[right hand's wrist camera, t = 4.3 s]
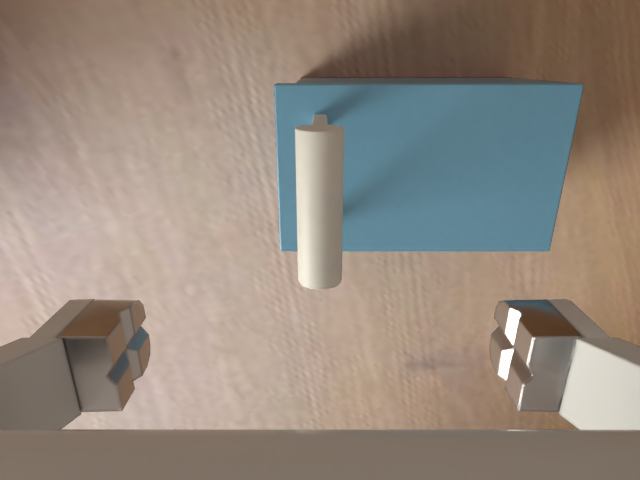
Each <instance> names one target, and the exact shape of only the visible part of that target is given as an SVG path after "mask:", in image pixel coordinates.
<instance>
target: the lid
mask: <svg viewBox="0 0 640 480" xmlns="http://www.w3.org/2000/svg"><path fill="white" fill-rule="evenodd" d="M583 87H584V85H583V84H578V83H277V84H275V85H274V92H275V119H276V146H277V173H278V200H279V227H280V250H281V251H298V281H299V283H300V284H301V285H302V286H304V287H306V288H310V289H316V290H324V289H330V288H333V287H336V286H337V285H339V284H340V282H341V280H342V251H549V250H550V245H551V241H552V236H553V231H554V226H555V221H556V217H557V212H558V207H559V202H560V197H561V193H562V188H563V183H564V178H565V173H566V169H567V164H568V159H569V154H570V149H571V145H572V140H573V135H574V130H575V125H576V121H577V116H578V111H579V106H580V101H581V97H582V92H583Z"/></svg>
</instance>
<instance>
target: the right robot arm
mask: <svg viewBox="0 0 640 480" xmlns="http://www.w3.org/2000/svg"><path fill="white" fill-rule="evenodd" d="M145 318H146V316H145V311H144V306H143V304H142V303H141V302H140V301H139V300H95V299H81V300H69V301H68V302H67V303H66V304H65V305H64V306H63V307H62V308H61V309H60V310H59V311H58V312H57V313H55V314H54V315H53V316H52V317H51V318H50V319H49V320H48V321H47V322H46V323H45V324H44V325H43V326H42V327H40V328H39V329H38V330H37V331H36V332H35V333H34V334H33V335H32V336H31V337H30V338H21V339H18V340H16V341H13V342H11V343H8V344H6V345H4V346H1V347H0V480H640V347H639V346H636V345H634V344H632V343H629V342H627V341H624V340H622V339H619V338H610V337H609V336H608V335H607V334H606V333H605V332H604V331H603V330H602V329H601V328H600V327H599V326H597V325H596V324H595V323H594V322H593V321H592V320H591V319H590V318H589V317H588V316H587V315H586V314H585V313H584V312H583V311H581V310H580V309H579V308H578V307H577V306H576V305H575V304H574V303H573V302H572V301H570V300H567V299H555V300H509V301H499V302H498V304H497V307H496V310H495V315H494V318H495V320H496V321H497V323H498V325H499V327H498V328H497V329H496V330H495V331H494V332H493V333H492V334H491V340H490V358H491V362H492V365H493V368H494V370H495V372H496V374H497V375H498V376H499V377H501V378H503V379H504V380H506V381H507V382H506V388H505V389H506V391H507V393H508V395H509V396H510V398H511V400H512V402H513V403H514V405H515V407H516V408H517V410H518V411H538V412H559V414H560V415H561V416H562V417H564V418H565V419H566V420H568V421H569V422H570V423H572V424H573V425H574V426H576V427H577V428H578V429H579V430H61V429H62V428H63V427H65V426H66V425H67V424H69V423H70V422H71V421H73V420H74V419H75V418H77V417H78V416H79V415H81V412H101V411H122V410H123V409H124V407H125V405H126V403H127V402H128V400H129V398H130V396H131V395H132V393H133V391H134V389H135V388H134V382H133V381H134V380H136V379H137V378H139V377H141V376H142V375H143V374H144V372H145V370H146V368H147V365H148V361H149V357H150V339H149V334H148V333H147V332H146V331H145V330H144V329H143V328H142V327H141V325H142V323H143V321H144V320H145Z"/></svg>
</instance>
